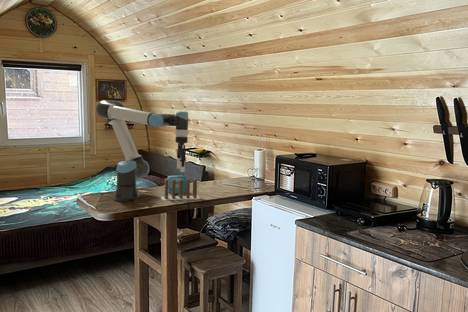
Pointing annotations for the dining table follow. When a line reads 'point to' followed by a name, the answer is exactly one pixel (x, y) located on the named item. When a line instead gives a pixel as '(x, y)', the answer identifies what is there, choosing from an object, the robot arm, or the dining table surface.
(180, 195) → the domino
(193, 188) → the domino
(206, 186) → the dining table surface
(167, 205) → the dining table surface
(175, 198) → the board
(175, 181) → the domino
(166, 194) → the domino
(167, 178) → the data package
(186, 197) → the domino
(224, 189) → the dining table surface
